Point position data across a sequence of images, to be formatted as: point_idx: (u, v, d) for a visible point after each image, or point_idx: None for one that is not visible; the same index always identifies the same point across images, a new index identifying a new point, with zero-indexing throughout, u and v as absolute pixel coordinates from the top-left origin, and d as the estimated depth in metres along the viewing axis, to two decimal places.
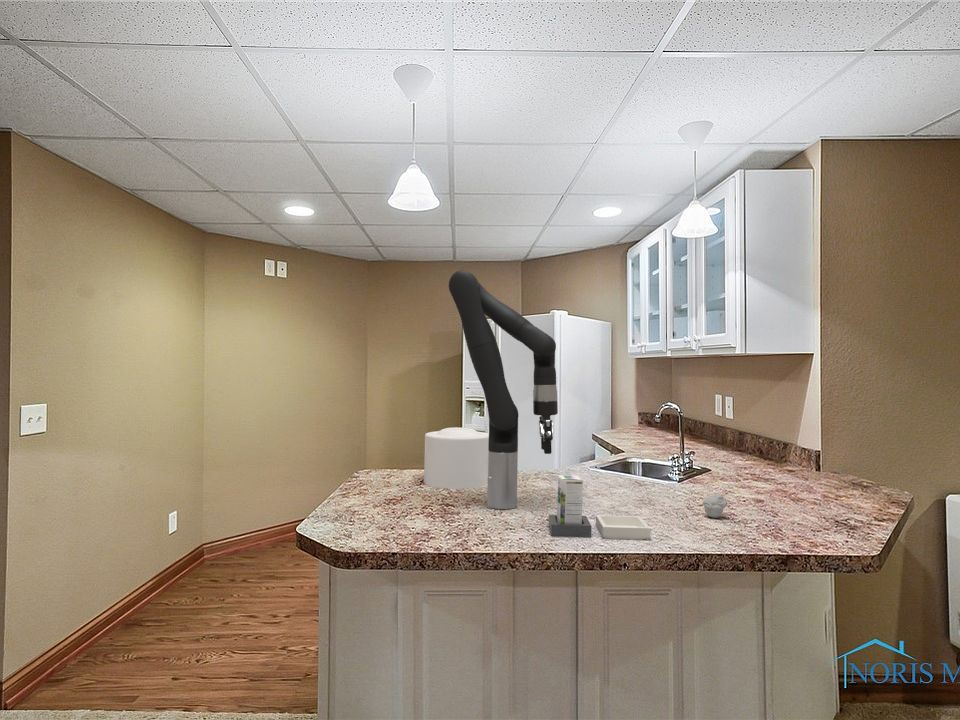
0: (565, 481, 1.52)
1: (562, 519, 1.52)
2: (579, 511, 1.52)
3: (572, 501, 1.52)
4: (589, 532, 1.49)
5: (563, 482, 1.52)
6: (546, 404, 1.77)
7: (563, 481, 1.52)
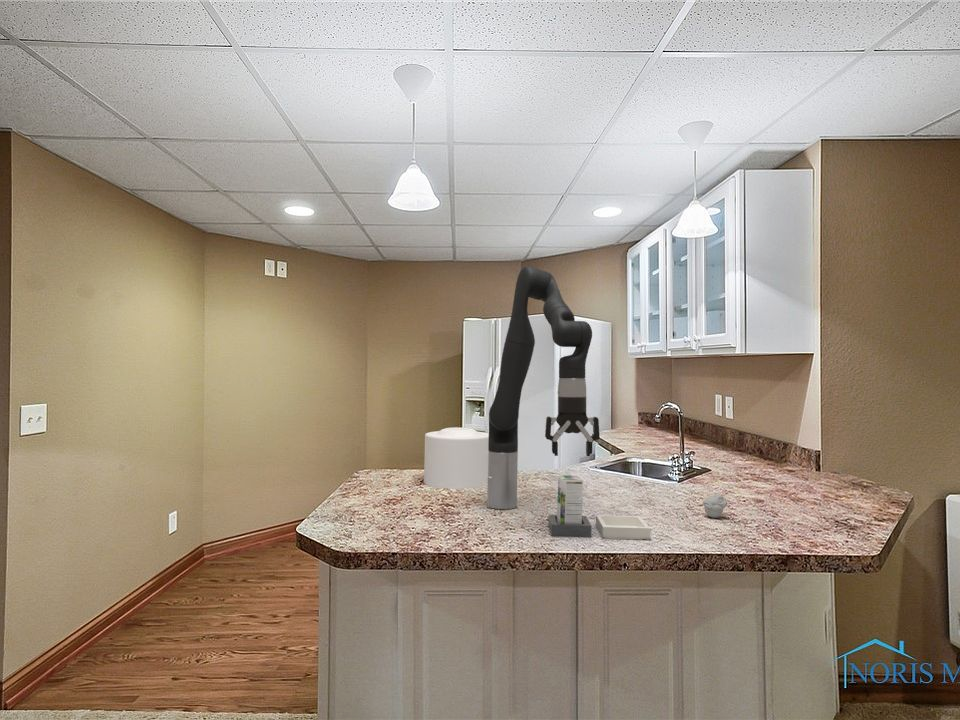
0: (565, 481, 1.52)
1: (562, 519, 1.52)
2: (579, 511, 1.52)
3: (572, 501, 1.52)
4: (589, 532, 1.49)
5: (563, 482, 1.52)
6: None
7: (563, 481, 1.52)
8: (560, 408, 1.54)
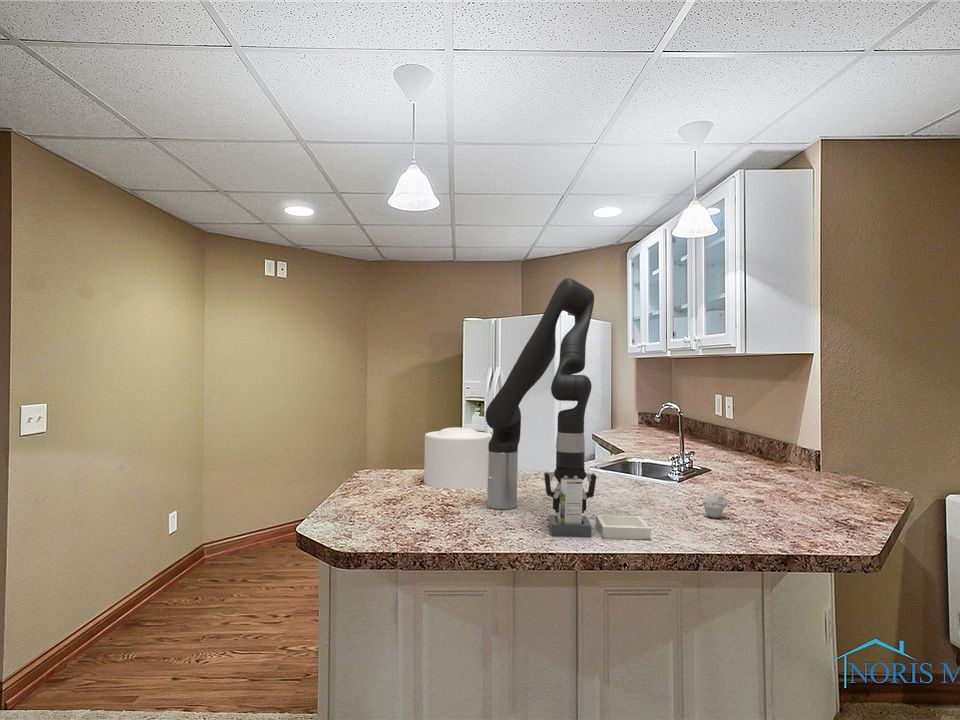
0: (565, 481, 1.52)
1: (562, 519, 1.52)
2: (579, 511, 1.52)
3: (572, 501, 1.52)
4: (589, 532, 1.49)
5: (563, 482, 1.52)
6: None
7: (563, 481, 1.52)
8: (557, 463, 1.54)
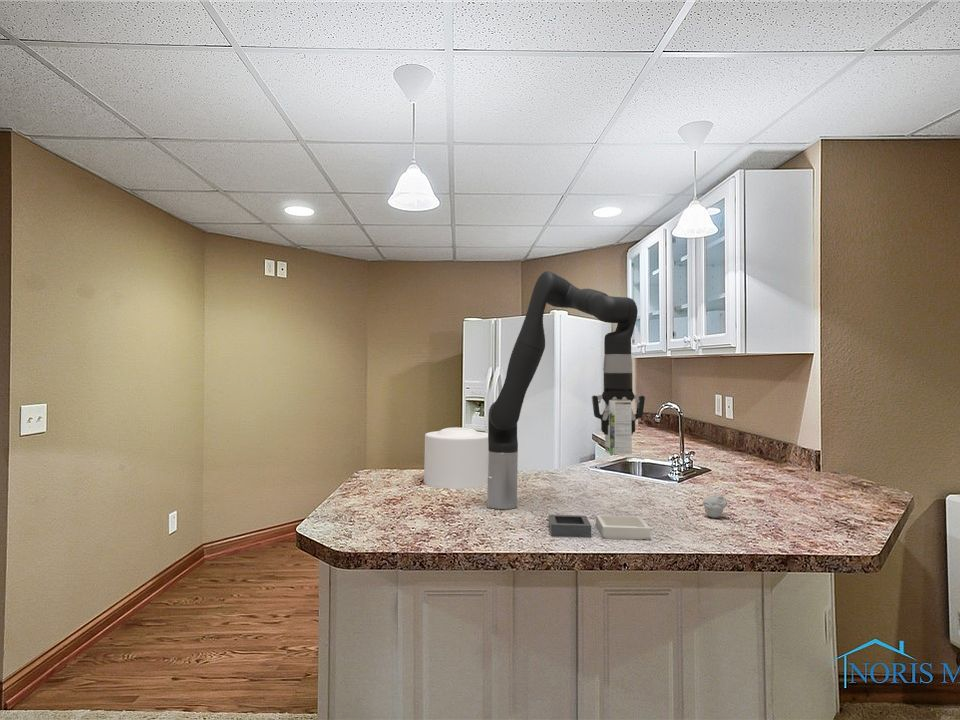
0: (614, 402, 1.52)
1: (612, 440, 1.52)
2: (629, 431, 1.52)
3: (622, 422, 1.52)
4: (589, 532, 1.49)
5: (612, 403, 1.52)
6: None
7: (612, 402, 1.52)
8: (606, 384, 1.53)
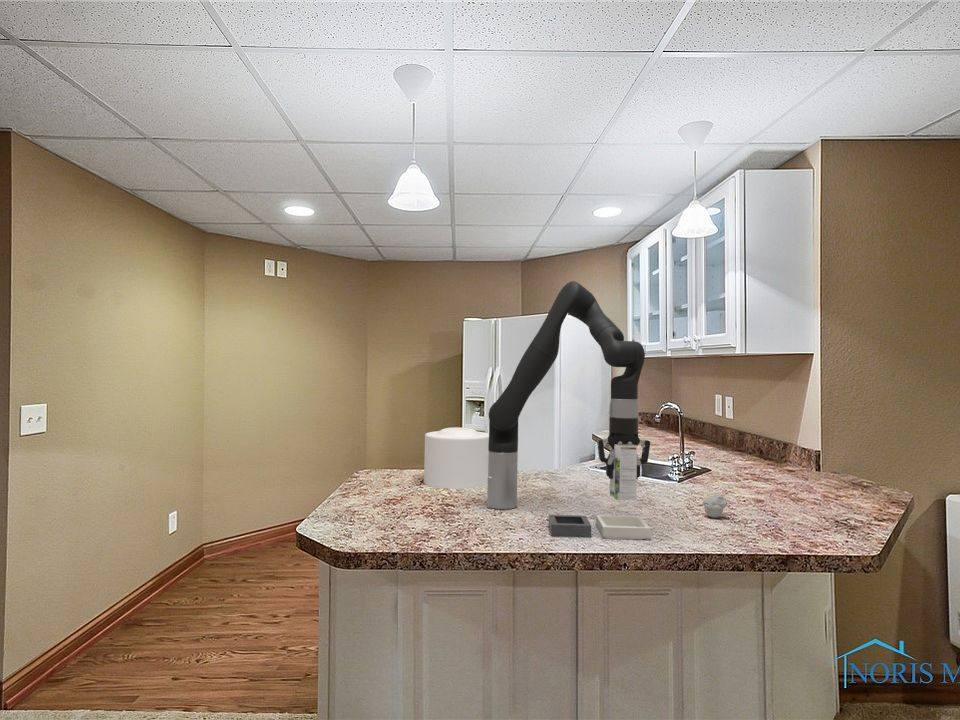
0: (619, 447, 1.52)
1: (617, 485, 1.51)
2: (634, 477, 1.52)
3: (627, 467, 1.52)
4: (589, 532, 1.49)
5: (617, 448, 1.52)
6: None
7: (617, 447, 1.52)
8: (611, 429, 1.53)
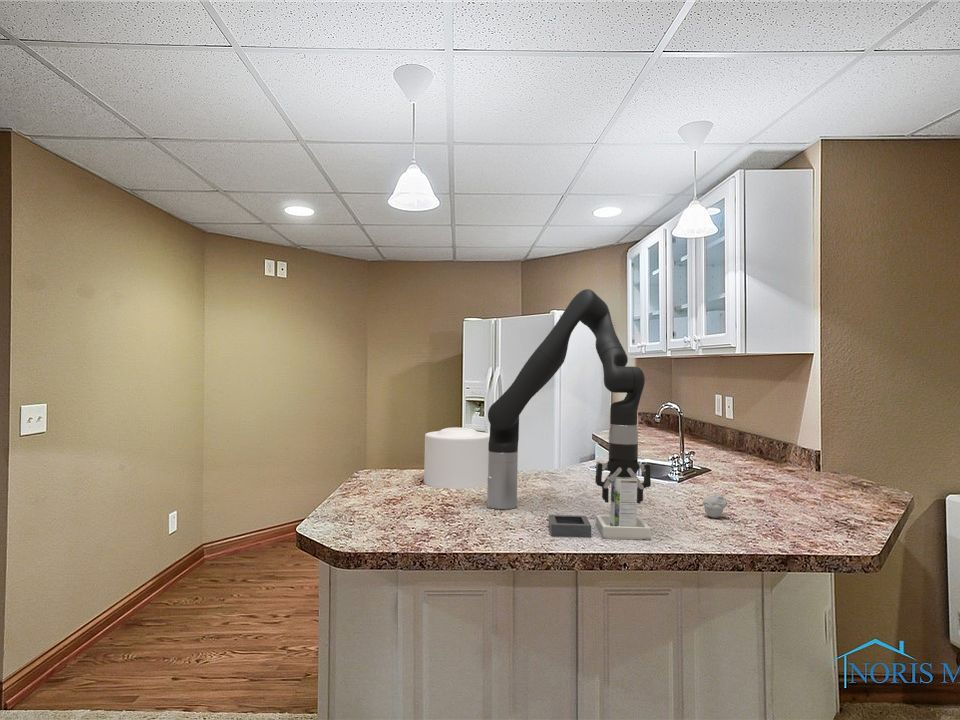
0: (619, 480, 1.51)
1: (616, 518, 1.51)
2: (634, 510, 1.51)
3: (627, 500, 1.51)
4: (589, 532, 1.49)
5: (617, 481, 1.51)
6: None
7: (617, 480, 1.51)
8: (611, 454, 1.53)
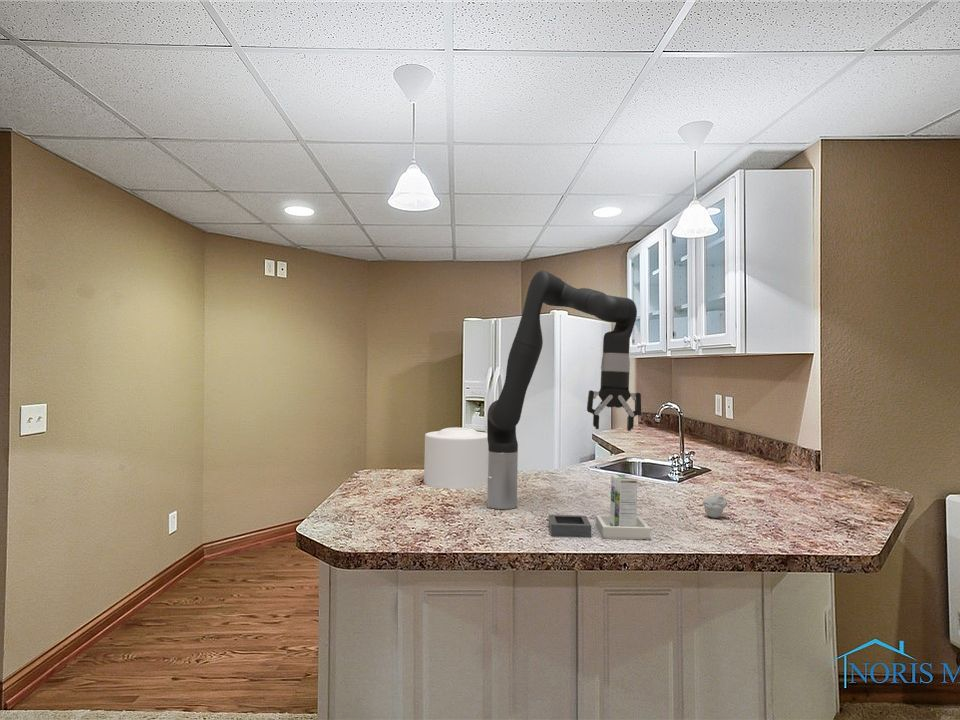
0: (619, 480, 1.51)
1: (616, 518, 1.51)
2: (634, 510, 1.51)
3: (627, 500, 1.51)
4: (589, 532, 1.49)
5: (617, 481, 1.51)
6: None
7: (617, 480, 1.51)
8: (602, 382, 1.56)
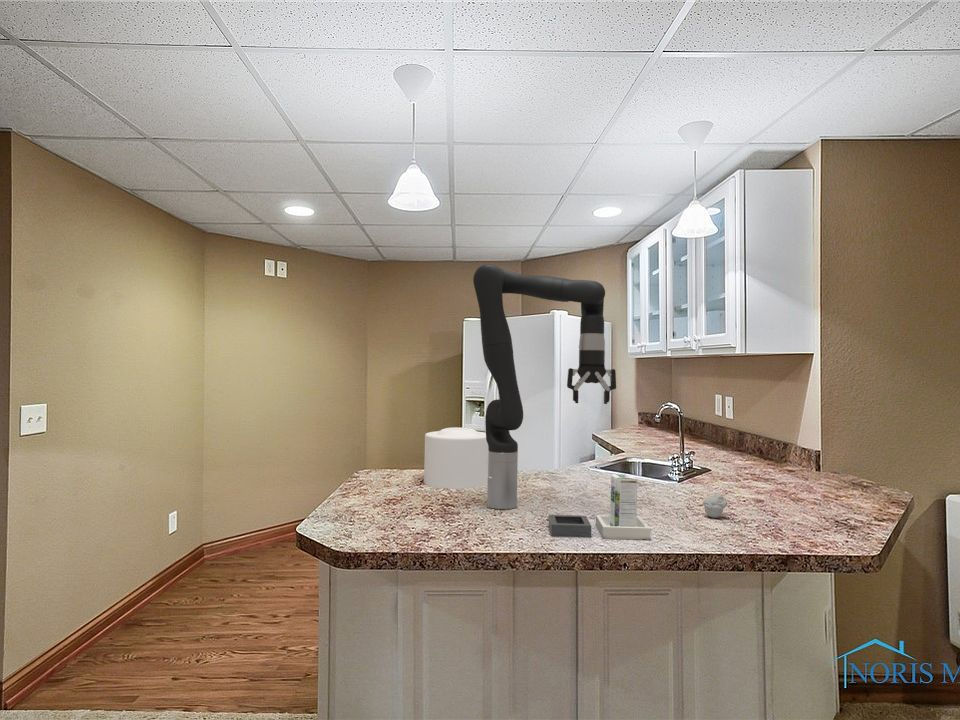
0: (619, 480, 1.51)
1: (616, 518, 1.51)
2: (634, 510, 1.51)
3: (627, 500, 1.51)
4: (589, 532, 1.49)
5: (617, 481, 1.51)
6: None
7: (617, 480, 1.51)
8: (580, 360, 1.71)
